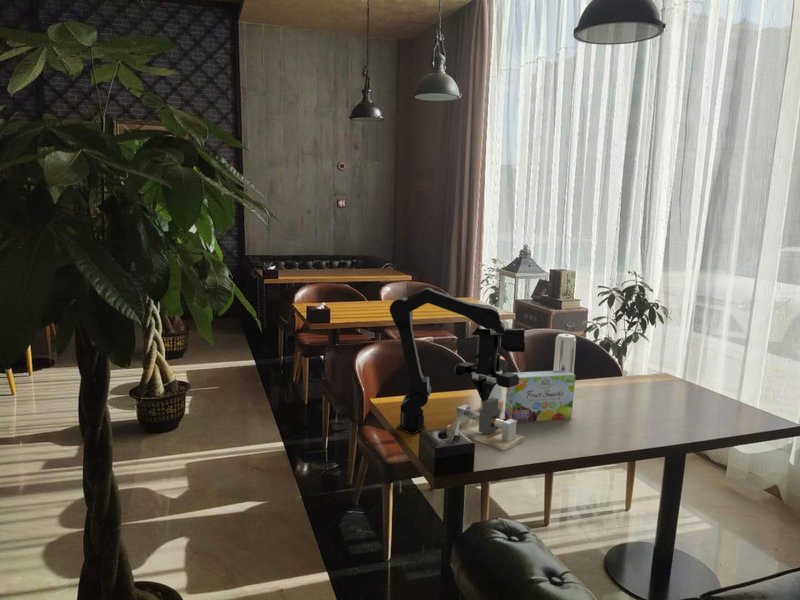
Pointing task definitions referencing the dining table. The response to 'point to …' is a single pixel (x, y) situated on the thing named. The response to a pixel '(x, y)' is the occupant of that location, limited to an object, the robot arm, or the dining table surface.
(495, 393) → the pepper shaker
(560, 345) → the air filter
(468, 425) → the board
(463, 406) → the pipe rig
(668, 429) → the dining table surface
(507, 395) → the snack box
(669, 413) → the dining table surface
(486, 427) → the grey upright block
